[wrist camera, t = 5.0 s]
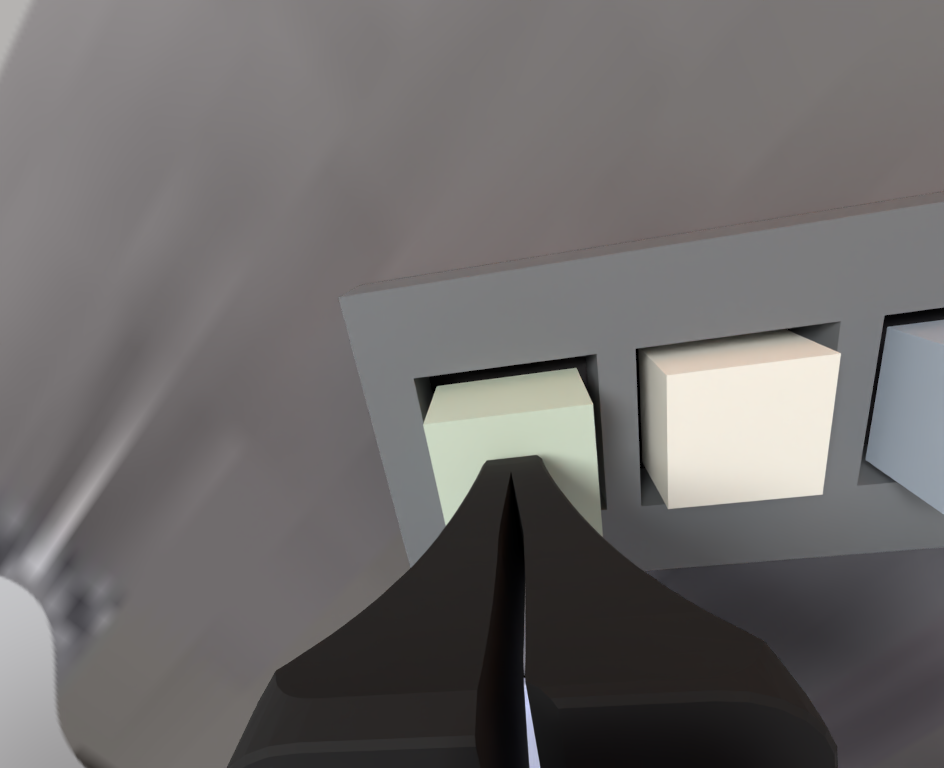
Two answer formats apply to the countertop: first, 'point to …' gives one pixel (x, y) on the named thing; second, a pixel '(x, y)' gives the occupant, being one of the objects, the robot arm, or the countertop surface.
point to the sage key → (515, 434)
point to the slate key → (911, 411)
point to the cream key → (737, 417)
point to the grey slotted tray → (660, 323)
